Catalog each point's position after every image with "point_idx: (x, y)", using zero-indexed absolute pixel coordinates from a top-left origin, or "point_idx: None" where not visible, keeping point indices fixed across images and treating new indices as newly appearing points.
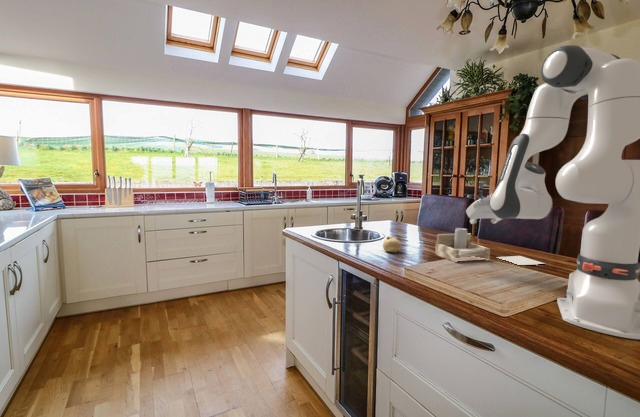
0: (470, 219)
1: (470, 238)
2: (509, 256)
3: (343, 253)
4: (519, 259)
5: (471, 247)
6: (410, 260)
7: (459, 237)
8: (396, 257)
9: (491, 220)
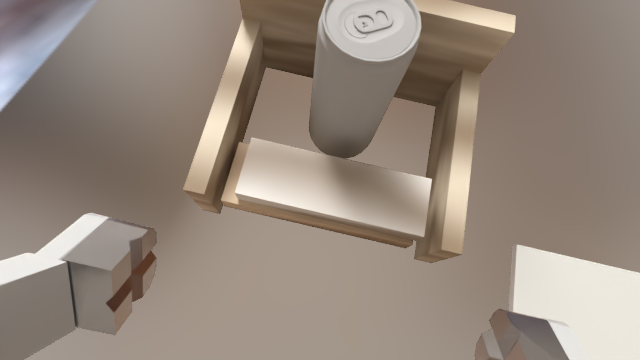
0: (71, 225)
1: (493, 56)
2: (608, 267)
3: None
4: (613, 344)
5: (448, 113)
6: (20, 76)
7: (321, 78)
8: (8, 8)
9: (498, 330)
